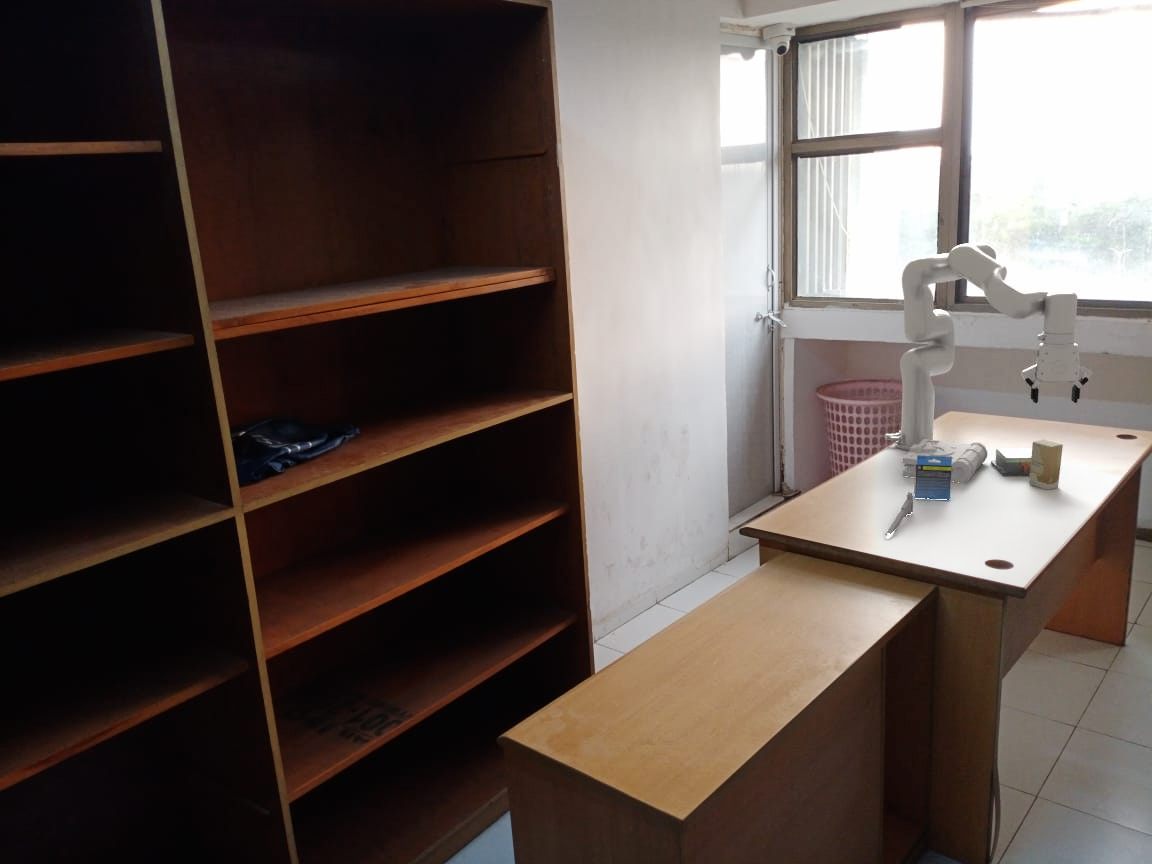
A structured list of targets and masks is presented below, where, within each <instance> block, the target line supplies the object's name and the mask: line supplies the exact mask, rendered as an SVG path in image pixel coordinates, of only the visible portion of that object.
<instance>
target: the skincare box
mask: <svg viewBox="0 0 1152 864" xmlns="http://www.w3.org/2000/svg"><path fill="white" fill-rule="evenodd" d="M1031 446H1032V455H1031V465H1030V475H1029V476H1028V485H1031V486H1034V487H1037V488H1040V489H1044V490H1046V491H1047V490H1053V489H1058V488H1059V484H1060V483H1059V482H1060V473H1061V465H1062V464H1061V462H1062V455H1063V454H1062V453H1063V447H1064V446H1063V444H1062V443H1058V442H1055V441H1050V440H1046V439H1044V438H1043V439H1040V440H1034V441H1032V445H1031Z"/></svg>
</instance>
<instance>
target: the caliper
mask: <svg viewBox="0 0 1152 864" xmlns="http://www.w3.org/2000/svg"><path fill="white" fill-rule="evenodd" d="M911 512H913V513H914V495H913V492H908V493H907V494H906V499H905V500H904V502H903V505H901V507H900V511H898V514H897V516H896V517H895V519H894V520H893V522H892V523H891V525H890V527H889V528H888V529H887V531H886V533H890V534H891V533H892V532H893V531H894V530H895V529H896V528H897V527H899V526H900V525H901V523H902V521H903V520H904V518H906V517H907V516H906V515H907V514H911ZM911 515H912V514H911ZM897 529H898V528H897ZM897 529H896V530H897Z"/></svg>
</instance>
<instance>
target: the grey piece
mask: <svg viewBox="0 0 1152 864" xmlns="http://www.w3.org/2000/svg"><path fill="white" fill-rule="evenodd" d="M1031 455H1032V448H1031V447H1024V448H1023V447H1021V448H1020V447H1017V448H1013V447H1012V448H1011V447H1010V448H1009V447H1007V448H1003V447H1001V448H996V450H995V460H991V461H990V465H991V466H992V467H993V468H994V469H995V470H996V471H997V472H998V473H999V474H1000V476H1002V477H1029V475H1030V465H1031Z"/></svg>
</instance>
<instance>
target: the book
mask: <svg viewBox="0 0 1152 864" xmlns="http://www.w3.org/2000/svg"><path fill="white" fill-rule="evenodd" d="M917 455H924V456H947V457H952V464H951V466H952V474H951V482H952V481H954V482H953V483H955V482H959V483H958V484H963V483H964V484H966V483H967V482H968V481H969V480H970V479H971V477H972V476H973V475H974V474H975V472H976V470H978V469H979V468H980V467H981V466H982V464H984V462H985V461H986V460H987V458H988V450H987V447H986V446H985V445H984V444H983V443H981V442H980V441H979V442H977V441H976V442H970V443H960V442H949V441H940V440H937V439H933V440H930V439H923V440H922V441H921V442H920V443H919V444H918V445H917V444H914V445H913V446H912V447H911V448H910V450H909V453H907V454H905V455H904V456H903V457H902V461H901V463H902V464H904V465H903V466H904V467H905V468H904V469H902V473H901V474H902V475H901V477H902V476H908V477H907V478H910V477H915V466H916V464H917ZM928 462H933V463H940V461H938V460H935V459H933V460H928Z"/></svg>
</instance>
